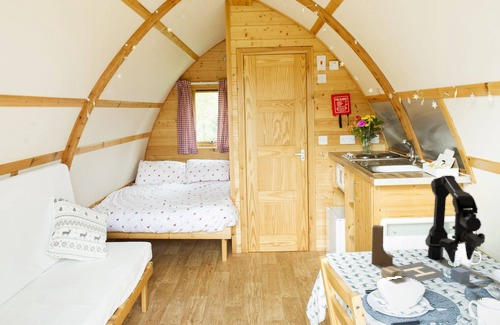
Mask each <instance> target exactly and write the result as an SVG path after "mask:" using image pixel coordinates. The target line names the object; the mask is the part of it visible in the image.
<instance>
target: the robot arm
mask: <svg viewBox="0 0 500 325" xmlns="http://www.w3.org/2000/svg"><path fill="white" fill-rule="evenodd" d="M430 182H431V183H430V187H431V191H432V193H433V195H434V208H433V210H434V211H433V223H432V224H433V225H432V226H431V227H430V229H429V230H428V231H429V232H428V234H427V236H426V238H425V242H424V243H425V245H426V247H428V248H427V255H426V256H425V257H426V258H428V259H430V260H432V261H433V260H434V261H441V260H442V261H443V260H446V257H444V250H445V252H446V254H447V256H448V257H449V260H450V263H452V264H454V263H455V261H456V260H455V259H456V252H457V251H458V250H459V248H458V247H459V245H461V244H464V247H465V254H466V259H467V260H469V261H470V260H472V257H473V254H474V252H475V250H476V248H479V247H481V246H482V244H484V243H485V240H486V237H485V235H486V234H484V233H482V232H480V233H474V232H477V231H478V230H480V229H481V227H482V222H481V220H480V219H479V218H478V217H477V214H478V209H479V208H478V206H477V203H476V200H475V198H474V196H473V195H471V194H470V193H469V192H467V191H464V190H463V189H462V187H461V186H460V185H459V183H458V181H457V180H456V177H455V176H454V175H441V176H440V177H436V178H433V179H432V180H431V181H430ZM449 195H450V196H451V197H452V206H453V209H454V213H455V214H454V225H453V226H452V228H451V229H453V230H454V234H453V235H452V236H451V238H449V236H448V235H449V233H448V232H447V230H446V229H445V217H446V205H447V204H446V201H447V197H448V196H449Z"/></svg>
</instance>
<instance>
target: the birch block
mask: <svg viewBox="0 0 500 325" xmlns="http://www.w3.org/2000/svg"><path fill="white" fill-rule="evenodd" d="M396 267H397V266H393V265H392V266H385V267H381V271H380V276H381V277H382V278H385V277H395V276H401V277H402V278H403V274H402V270H400V269H398V268H396Z"/></svg>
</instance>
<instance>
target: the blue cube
mask: <svg viewBox="0 0 500 325" xmlns="http://www.w3.org/2000/svg"><path fill="white" fill-rule="evenodd" d="M450 270H451V271H450V272H451V273H450V279H451V281H455V282H456V283H459V284H463V283H469V282H470V281H471V280H470V278H471V270H468V269H466V268H464V267H461V266H459V267H458V266H457V267H453V268H451V269H450Z"/></svg>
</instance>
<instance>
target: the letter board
mask: <svg viewBox="0 0 500 325" xmlns="http://www.w3.org/2000/svg"><path fill="white" fill-rule="evenodd" d="M395 267H396V268H398V269H400V270H402V276H405V277H408V278H410V279H411V278H412V280H413V279H415V280H414V281H416V280H417V281H416V282H418V281H419V282H418V283H420V282H424V281H429V280H433V279H438V278H443V277H445V276H444V275H443V272H444V271H442V270H439V269H437V268H435V267H432V266H430V265H426V264H425V263H422V262H413V263H408V264H404V265H398V266H395Z"/></svg>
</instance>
